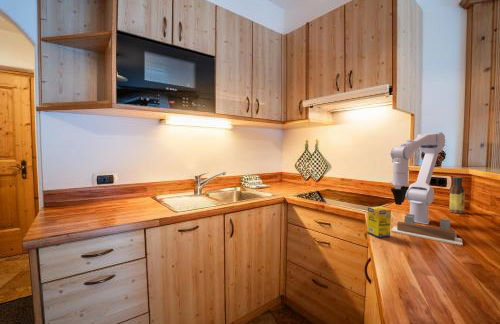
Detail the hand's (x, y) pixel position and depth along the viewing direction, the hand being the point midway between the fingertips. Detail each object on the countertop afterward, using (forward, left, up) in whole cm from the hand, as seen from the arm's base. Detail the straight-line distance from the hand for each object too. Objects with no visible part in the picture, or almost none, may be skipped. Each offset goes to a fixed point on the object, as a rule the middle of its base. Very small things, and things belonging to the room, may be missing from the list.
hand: (399, 203), depth 103 cm
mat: (+8, +10, -10) cm, 16 cm away
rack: (0, +10, -10) cm, 14 cm away
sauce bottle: (-50, +20, -11) cm, 55 cm away
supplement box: (+19, -4, -11) cm, 22 cm away
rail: (+8, +10, -10) cm, 16 cm away
